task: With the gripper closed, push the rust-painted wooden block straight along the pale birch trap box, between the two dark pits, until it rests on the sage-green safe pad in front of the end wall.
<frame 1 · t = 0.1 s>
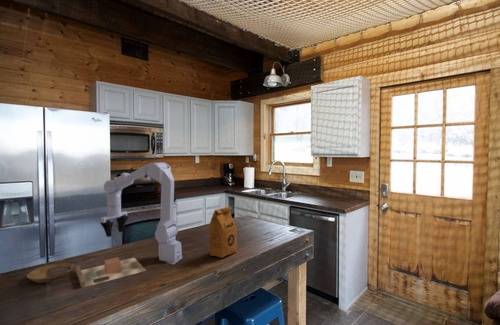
hand: (115, 234, 128), 10 cm above the kitchen island, fingers open, 7 cm apart
trap box: (117, 272, 109), on the kitchen island
plant saucer: (51, 277, 107), on the kitchen island
rust block: (112, 270, 109), point 1 cm above the kitchen island, touching trap box
coffee package: (223, 254, 128), on the kitchen island
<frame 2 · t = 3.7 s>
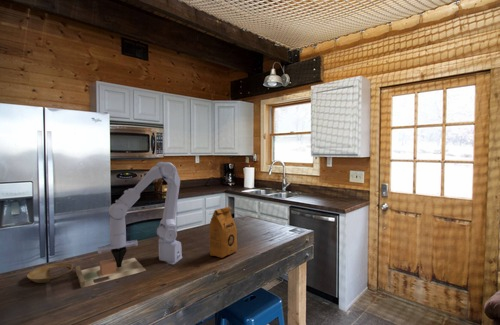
hand: (118, 266, 110), 2 cm above the kitchen island, fingers closed
rust block: (108, 271, 108), point 1 cm above the kitchen island, touching gripper
everything else where it was.
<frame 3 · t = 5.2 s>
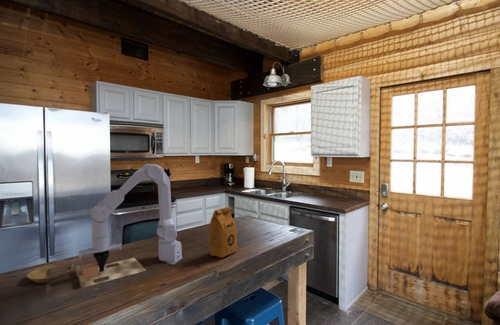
hand: (101, 270, 106), 2 cm above the kitchen island, fingers closed
rust block: (90, 276, 104), point 1 cm above the kitchen island, touching gripper, trap box
everything else where it was.
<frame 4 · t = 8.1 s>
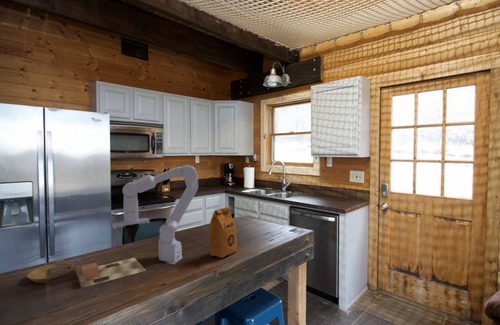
hand: (131, 242, 117), 10 cm above the kitchen island, fingers closed
rust block: (90, 276, 104), point 1 cm above the kitchen island, touching trap box
everything else where it was.
at the end: rust block 0.3 cm from the target spot, point 1.2 cm above the kitchen island; rust block tilted 0°; rust block moved 7.9 cm from its start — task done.
